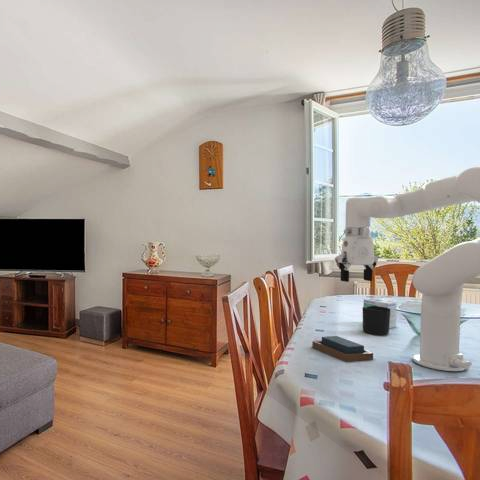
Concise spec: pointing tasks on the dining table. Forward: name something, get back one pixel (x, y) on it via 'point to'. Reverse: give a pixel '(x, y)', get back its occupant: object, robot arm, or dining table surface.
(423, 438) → the dining table surface
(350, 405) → the dining table surface
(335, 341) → the back pad
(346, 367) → the dining table surface
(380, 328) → the pen holder
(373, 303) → the light bulb box
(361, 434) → the dining table surface
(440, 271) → the robot arm
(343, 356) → the frame
